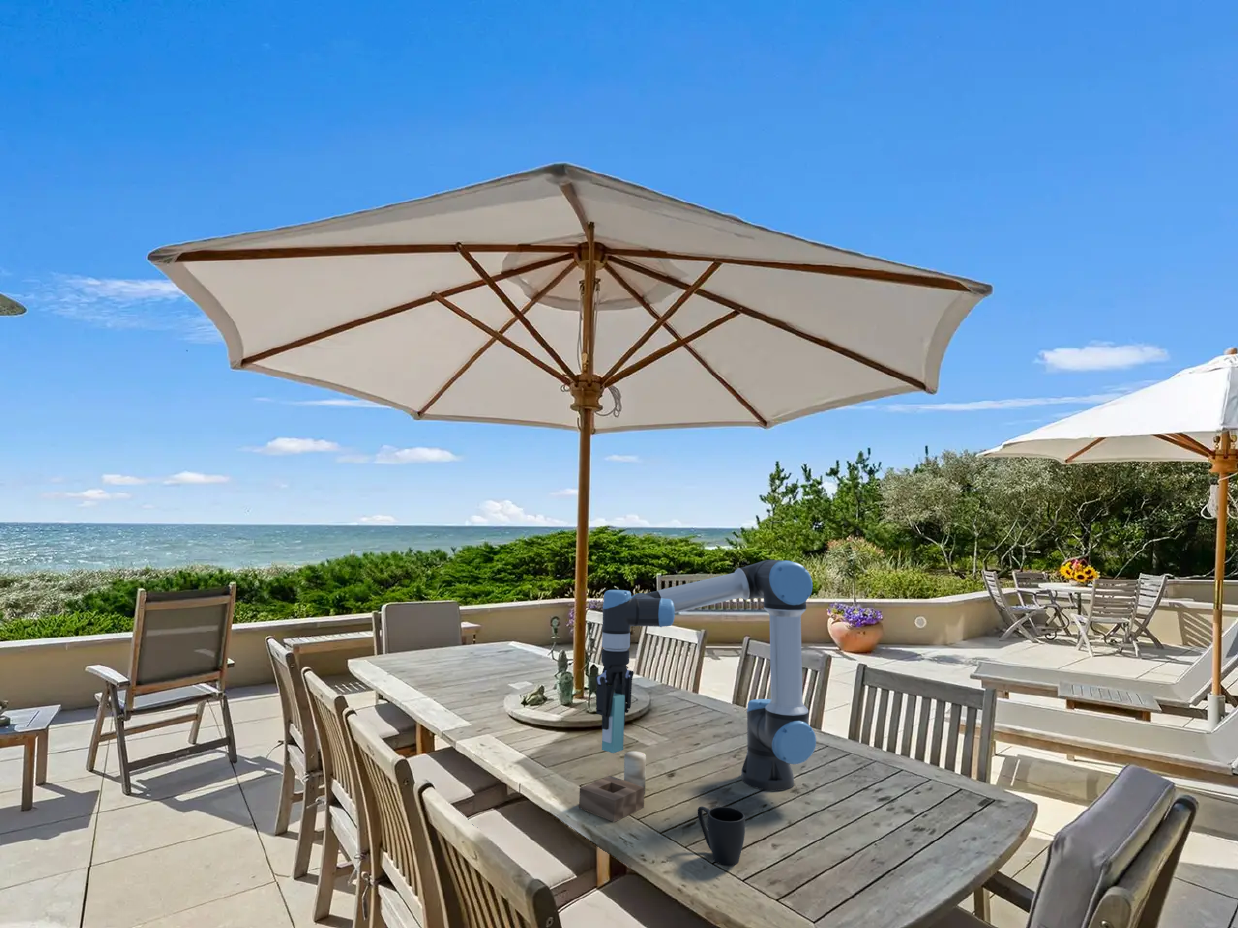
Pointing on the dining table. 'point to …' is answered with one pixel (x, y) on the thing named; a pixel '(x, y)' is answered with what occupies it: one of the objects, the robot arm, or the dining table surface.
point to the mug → (723, 833)
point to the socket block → (611, 798)
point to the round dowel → (635, 768)
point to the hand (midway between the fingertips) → (612, 739)
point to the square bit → (616, 725)
